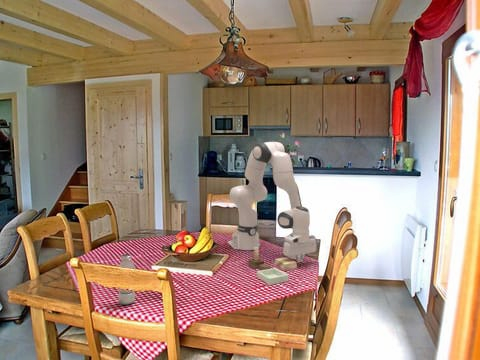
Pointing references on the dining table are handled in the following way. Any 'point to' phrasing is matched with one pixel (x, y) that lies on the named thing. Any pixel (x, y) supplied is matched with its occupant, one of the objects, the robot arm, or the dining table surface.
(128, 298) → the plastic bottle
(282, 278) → the tray
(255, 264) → the socket block
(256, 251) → the dowel
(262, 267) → the small brown block
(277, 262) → the board
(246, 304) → the dining table surface
